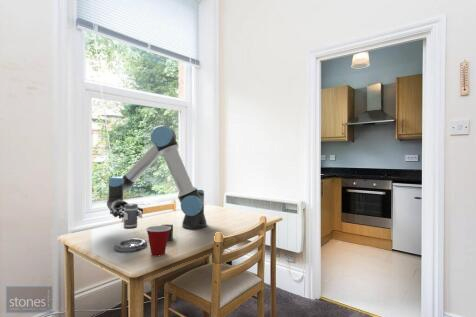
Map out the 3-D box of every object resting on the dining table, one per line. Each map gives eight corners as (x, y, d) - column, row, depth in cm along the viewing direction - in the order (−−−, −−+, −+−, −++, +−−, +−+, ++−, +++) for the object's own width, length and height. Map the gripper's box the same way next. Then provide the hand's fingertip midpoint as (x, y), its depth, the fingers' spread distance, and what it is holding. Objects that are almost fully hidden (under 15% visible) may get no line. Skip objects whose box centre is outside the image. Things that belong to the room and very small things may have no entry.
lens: (139, 225, 128) (139, 203, 128) (134, 229, 122) (134, 206, 122) (126, 225, 128) (127, 203, 128) (121, 228, 122) (121, 205, 122)
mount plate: (151, 241, 133) (151, 237, 133) (140, 252, 118) (140, 248, 118) (122, 241, 133) (122, 237, 133) (107, 252, 118) (107, 247, 118)
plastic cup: (175, 250, 120) (175, 225, 120) (161, 259, 110) (161, 231, 110) (155, 247, 124) (156, 223, 124) (140, 256, 114) (140, 229, 114)
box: (161, 238, 139) (161, 224, 139) (173, 237, 139) (173, 224, 139) (159, 241, 133) (159, 227, 133) (171, 241, 133) (171, 227, 133)
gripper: (138, 212, 145) (153, 221, 127) (100, 216, 133) (112, 227, 115) (138, 199, 145) (154, 205, 127) (101, 202, 133) (112, 210, 115)
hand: (134, 215), depth 121 cm, fingers closed on lens, 6 cm apart
